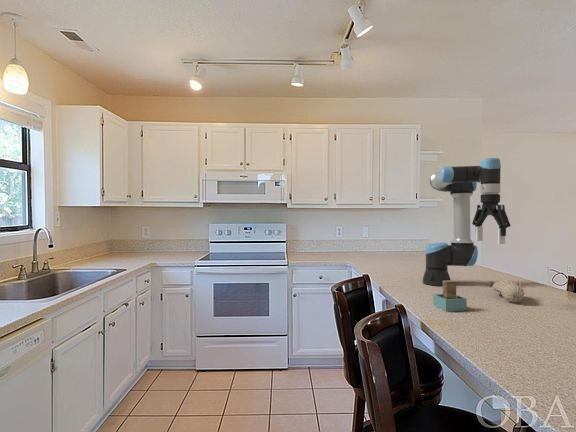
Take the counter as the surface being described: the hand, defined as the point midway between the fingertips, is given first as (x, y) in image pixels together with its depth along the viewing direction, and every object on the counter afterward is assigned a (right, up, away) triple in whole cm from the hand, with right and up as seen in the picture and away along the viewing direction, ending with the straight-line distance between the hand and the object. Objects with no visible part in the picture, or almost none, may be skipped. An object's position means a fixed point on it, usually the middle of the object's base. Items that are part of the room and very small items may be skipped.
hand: (490, 242), depth 155 cm
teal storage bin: (-18, -29, 0) cm, 34 cm away
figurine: (+18, -28, +18) cm, 38 cm away
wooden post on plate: (-18, -28, 0) cm, 33 cm away
